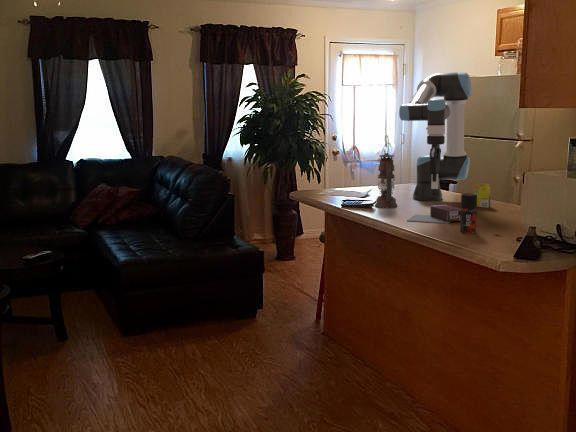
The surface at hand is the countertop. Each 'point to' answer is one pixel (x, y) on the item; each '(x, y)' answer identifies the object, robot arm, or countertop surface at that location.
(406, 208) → the countertop surface
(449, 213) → the supplement box
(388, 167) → the lantern
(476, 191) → the crayon box
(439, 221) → the mat
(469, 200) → the deodorant
